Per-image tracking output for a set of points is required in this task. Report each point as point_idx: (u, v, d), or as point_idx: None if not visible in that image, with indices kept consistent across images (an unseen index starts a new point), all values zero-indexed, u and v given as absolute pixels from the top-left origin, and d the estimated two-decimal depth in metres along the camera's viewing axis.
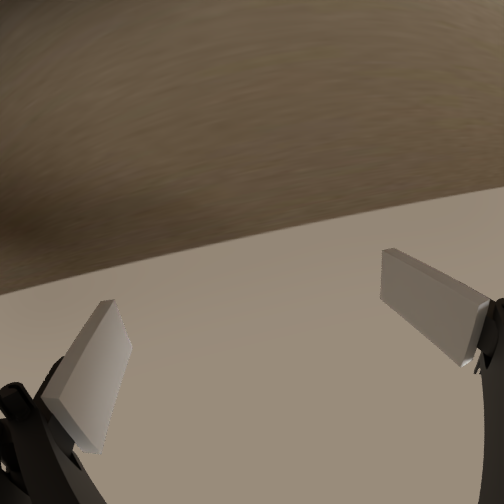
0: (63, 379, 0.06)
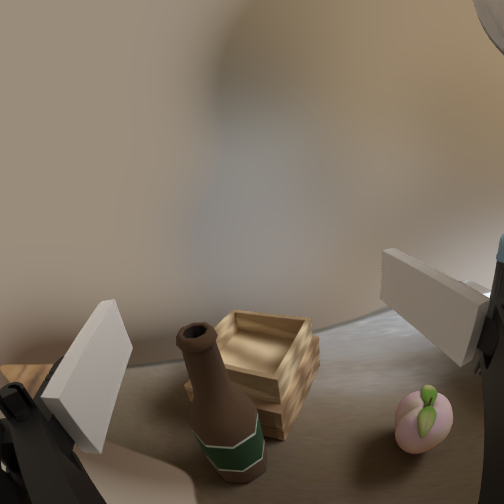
0: (63, 379, 0.06)
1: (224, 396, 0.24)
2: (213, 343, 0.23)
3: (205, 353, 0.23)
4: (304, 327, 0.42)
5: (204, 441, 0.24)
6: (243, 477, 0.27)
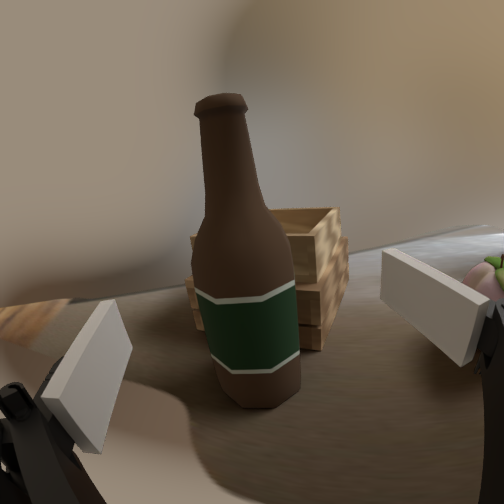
0: (63, 379, 0.06)
1: (252, 196, 0.18)
2: (244, 104, 0.17)
3: (233, 115, 0.17)
4: (333, 210, 0.36)
5: (214, 289, 0.18)
6: (270, 389, 0.20)
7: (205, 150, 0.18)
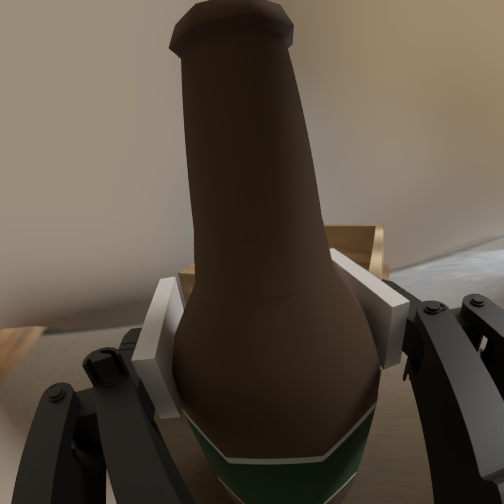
0: (151, 342, 0.08)
1: (314, 245, 0.07)
2: (290, 22, 0.06)
3: (265, 39, 0.06)
4: (379, 231, 0.25)
5: (224, 445, 0.07)
6: None
7: (193, 124, 0.07)
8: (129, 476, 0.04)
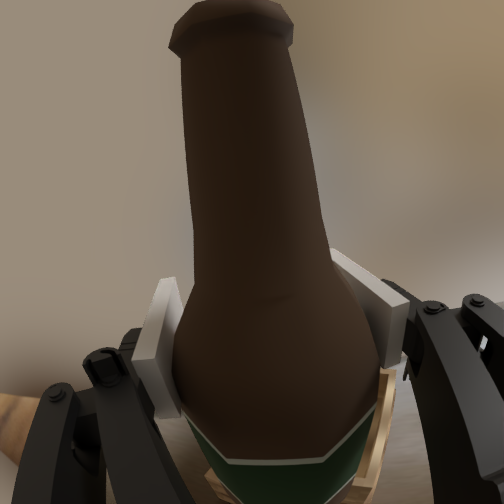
0: (151, 342, 0.08)
1: (314, 246, 0.07)
2: (290, 21, 0.06)
3: (265, 39, 0.06)
4: (391, 387, 0.24)
5: (224, 446, 0.07)
6: None
7: (192, 124, 0.07)
8: (129, 476, 0.04)
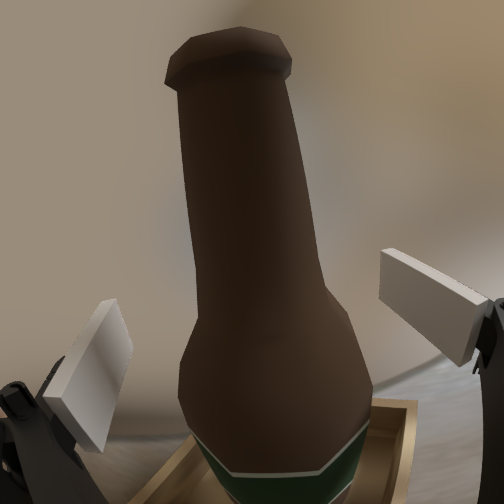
0: (65, 378, 0.06)
1: (310, 285, 0.08)
2: (288, 55, 0.06)
3: (262, 78, 0.06)
4: (411, 429, 0.13)
5: (229, 462, 0.07)
6: None
7: (191, 168, 0.07)
8: None
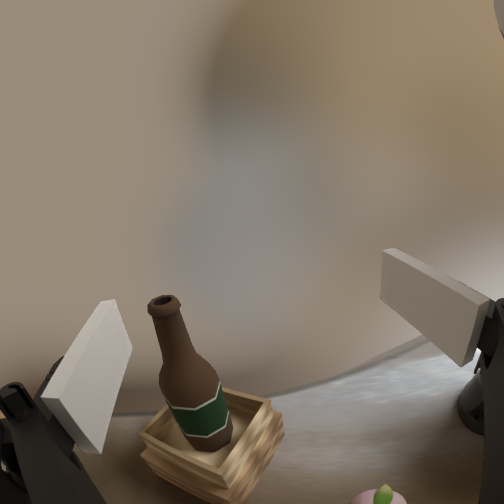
0: (63, 379, 0.06)
1: (187, 359, 0.30)
2: (176, 310, 0.28)
3: (169, 318, 0.28)
4: (260, 412, 0.35)
5: (171, 402, 0.29)
6: (208, 444, 0.32)
7: (157, 334, 0.29)
8: None
